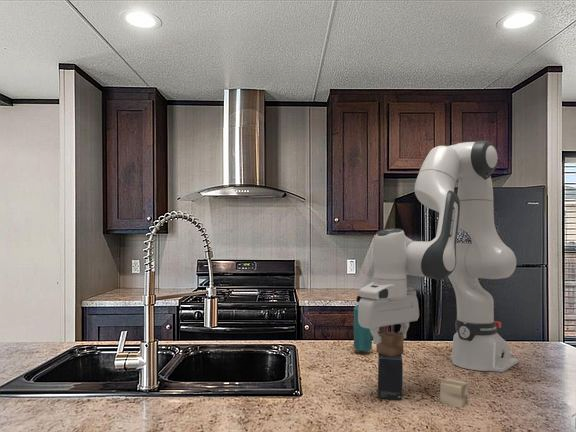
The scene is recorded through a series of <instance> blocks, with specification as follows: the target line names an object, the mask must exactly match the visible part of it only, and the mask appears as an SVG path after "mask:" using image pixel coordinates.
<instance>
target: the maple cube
mask: <svg viewBox="0 0 576 432" xmlns="http://www.w3.org/2000/svg"><path fill="white" fill-rule="evenodd" d="M439 386H440V388H439V389H440V391H439V392H440V397H439V398H440V399H439V400H440V403H439V404H442V405H446V404H447V405H446V406H450V405H451V407H454V406H455V408H458V407H459V408H458V409H461V408H463V407H464V406H465V405H466V404H468V403H469V402H468V401H469V400H468V396H469V395H468V392H469V391H468V382H466V381H463V380H462V381H461V380H457V379H451V378H446V379H445V380H443V381H442V382H440V384H439ZM463 405H464V406H463ZM462 406H463V407H462Z"/></svg>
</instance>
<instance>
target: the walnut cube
mask: <svg viewBox="0 0 576 432" xmlns="http://www.w3.org/2000/svg"><path fill="white" fill-rule="evenodd" d="M378 334H379V336H380V337H382V343H381V344H375V345H376V347H375V349H376V353H377V354H378V353H380V354H383V355H387V356H390V357H391V356H396V355H400V354H401V355H404V339H403V335H402V334H398V332H392V331H384V332H378Z"/></svg>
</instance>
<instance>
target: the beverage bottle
mask: <svg viewBox="0 0 576 432" xmlns="http://www.w3.org/2000/svg"><path fill="white" fill-rule="evenodd" d="M361 298H363V297H360V296H359V295H357V296H356V300H355V301H356V303H359V301H360V299H361ZM358 305H359V304H357V305H355V306H354V307H353V348H354V349H355V350H356V351H362V352H363V351H371V350H372V347H373V336H372V334H371V332H370V329H368V328H364V327H361V326H360V324H359V323H358Z"/></svg>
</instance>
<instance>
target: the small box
mask: <svg viewBox="0 0 576 432" xmlns="http://www.w3.org/2000/svg"><path fill="white" fill-rule="evenodd" d="M402 355H403V354H400V355H396V356H391V357H390V356H387V355H383V354H380V353H377V356H378V358H377V368H378V369H377V399H385V400H396V401H397V400H399V401H402V400H403V377H404V376H403V375H404V374H403V373H404V372H403V369H404V366H403V357H402Z"/></svg>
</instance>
